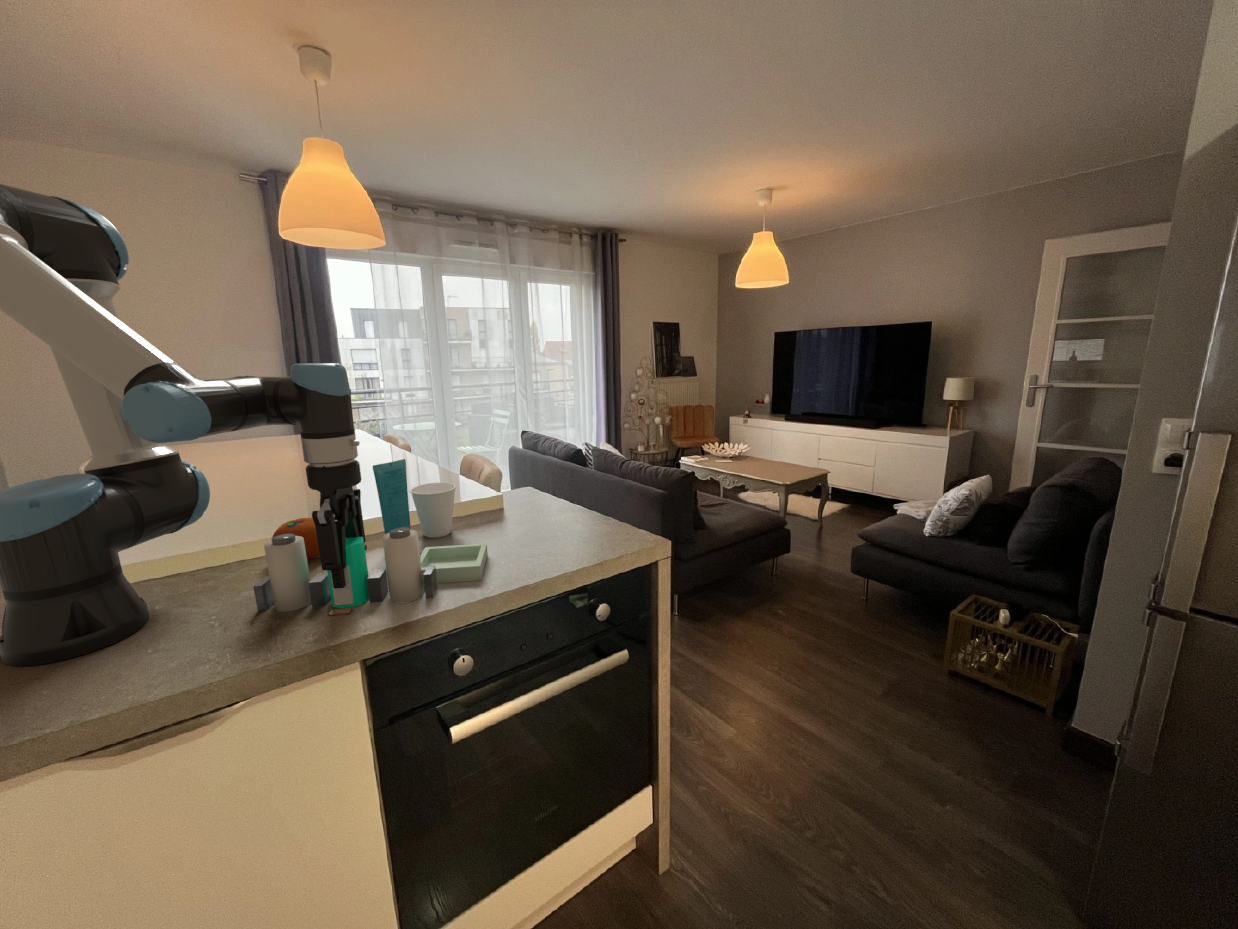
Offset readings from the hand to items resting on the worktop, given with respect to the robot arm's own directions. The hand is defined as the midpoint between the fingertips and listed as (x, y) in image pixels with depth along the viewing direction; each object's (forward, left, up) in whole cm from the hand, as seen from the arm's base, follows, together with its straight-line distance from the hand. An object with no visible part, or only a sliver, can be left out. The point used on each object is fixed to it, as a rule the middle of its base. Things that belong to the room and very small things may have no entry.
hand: (351, 595), depth 84 cm
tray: (+15, +10, -1) cm, 18 cm away
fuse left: (-9, 0, -1) cm, 9 cm away
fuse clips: (0, -2, -1) cm, 2 cm away
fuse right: (+9, 0, -1) cm, 9 cm away
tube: (+2, +22, -1) cm, 22 cm away
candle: (0, 0, -1) cm, 1 cm away
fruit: (-16, +21, -1) cm, 26 cm away
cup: (+8, +31, -1) cm, 32 cm away
